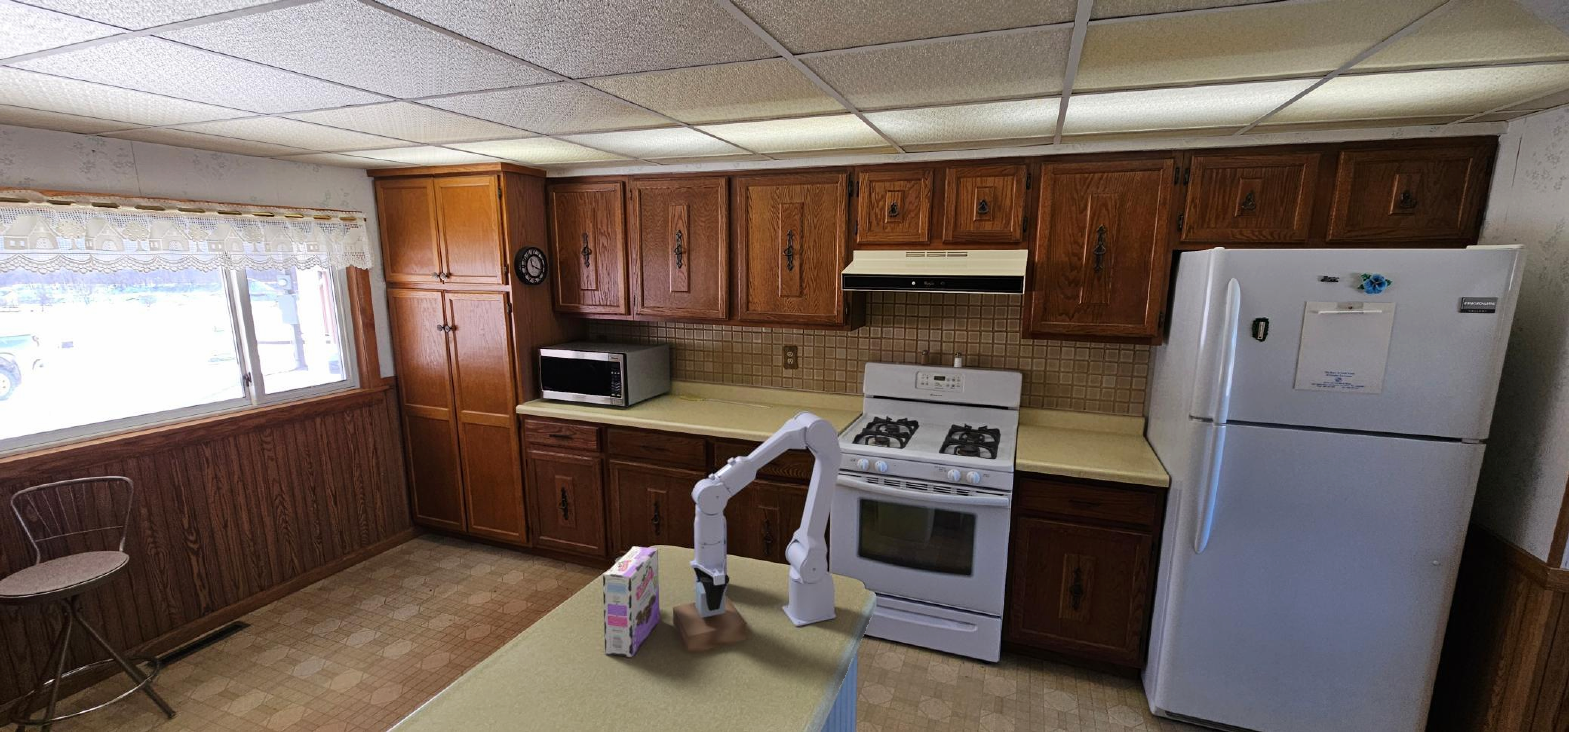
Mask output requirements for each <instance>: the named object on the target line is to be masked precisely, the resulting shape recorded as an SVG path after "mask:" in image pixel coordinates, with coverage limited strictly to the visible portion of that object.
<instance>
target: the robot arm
mask: <svg viewBox="0 0 1569 732" xmlns="http://www.w3.org/2000/svg"><path fill="white" fill-rule="evenodd" d="M838 435H839V432H838V430H837V429H836V428H835V426H834V425H833V424H832V423H831V422H830V421H829V420H827V419H824V418H822V417H820V416H818V415H816V414H815V413H813V412H811V411H809V410H808V411H807V410H805V411H800V412H799V413H797V414H796V415H795V416H794V417H792V418H790V419H787V421H786V422H785V423H784V424H783V425H782V426H781V428H780V429H778V430H777V431H776V432H775V433H773V435H771V436H770V437H769V438H768V439H766V440H765V441H764V442H763V443H761V444H760V445H759V446H758V447H757V448H755V449H754V450H753V451H752V452H751V453H750V454H748V456H742V455H741V456H740V455H738V456H737V457H735V458H734V457H731V458H729V459H728V460H727V464H726V465H725V466H723V467H722V468H720V469H719V470H718V471H717V472H715V473H714V474H713V473H711V474H709V475H708V478H704V479H701V480H699V481H698V482H697V483H696V484H695V485H694V488H692V489H693V490H692V492H691V497H692V500H693V501H694V502H695V503H696V504H695V512H694V513H695V517H694V522H695V547H696V557H695V556H694V559H693V560H690V561H689V566H690V568H691V569H693V570H694V574H695V573H696V576H697V579H698V582H701V583H702V584H703V587H704V590H705V593H706V599H707V605H708V609H709V611H712V610H717V609H719V608H720V604H721V600H722V596H723V592H724V590H725V588H726V586H727V585H728V584H729V583H730V576H729V575H728V574H727V575H725V574H724V566H725V558H724V518H723V516H724V509H725V508H726V507H727V504H728V500H729V499H730V498H732V497H733V496H735V495H736V494H737V493H738V492H740V491H741V490H742V489H744V488H746V486H747V485H749V484H750V483H752V482H753V481H754V480H755V479H756V476H757V475H756V474H757V471H758V470H760V469H762V467H763V466H765V465H766V464H768V463H769V462H771V461H772V460H774V459H776V458H777V457H779V456H780V455H781V454H783V453H785V452H786V451H787V450H789V449H792V450H795V449H796V450H806V449H807V448H808V449H809V451H810V452H811V454H813V456H814V458H815V461H814V465H813V469H812V470H813V471H812V475H811V479H810V483H809V487H808V490H807V491H808V492H807V496H806V501H805V505H804V510H803V513H802V518H801V523H800V527H799V528H798V529H797V530H796V531H794V533H793V535H792V539H791V541H790V542H789V544H788V545H787V547H786V550H785V558H786V560H787V562H788V563H789V564H790V569H789V574H788V576H789V578H788V584H789V585H788V605H783V606H782V607H781V609H782V610H783V613H785V614H786V616H787V617H788V618H789V619H790V621H791V622H792V623H793V625H794V626H795V627H800V626H803V625H804V626H805V625H809V624H814V623H818V622H823V621H826V620H831V619H836V617H837V615H836V614H835V595H836V594H835V590H836V589H835V588H836V587H835V583H834V578H833V577H832V575H831V573H830V572H829V571H828V561H827V553H828V547H827V544H826V539H825V532H826V529H827V525H828V519H829V516H830V512H831V507H832V502H833V497H834V495H835V489H836V485H837V480H838V477H839V472H840V468H841V463H842V459H843V452H842V449H841V445H840V442H839V438H838Z"/></svg>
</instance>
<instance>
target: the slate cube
mask: <svg viewBox="0 0 1569 732" xmlns="http://www.w3.org/2000/svg"><path fill="white" fill-rule="evenodd" d="M694 586H695V590H694V598H695V599H694V600H695V601H694V603H695V606H696V608H697V610H698V612H699V614H700V616H701V618H702V617H707V616H713V615H718V614H723V613H725V596H726V591H725V590H724V592H723V596H722V600H721V604H720V608H719V609H717V610H712V611H709V609H708V605H707V599H706V593H705V590H704V587H703V584H702V583H701V582H698V583H695V582H694Z"/></svg>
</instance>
